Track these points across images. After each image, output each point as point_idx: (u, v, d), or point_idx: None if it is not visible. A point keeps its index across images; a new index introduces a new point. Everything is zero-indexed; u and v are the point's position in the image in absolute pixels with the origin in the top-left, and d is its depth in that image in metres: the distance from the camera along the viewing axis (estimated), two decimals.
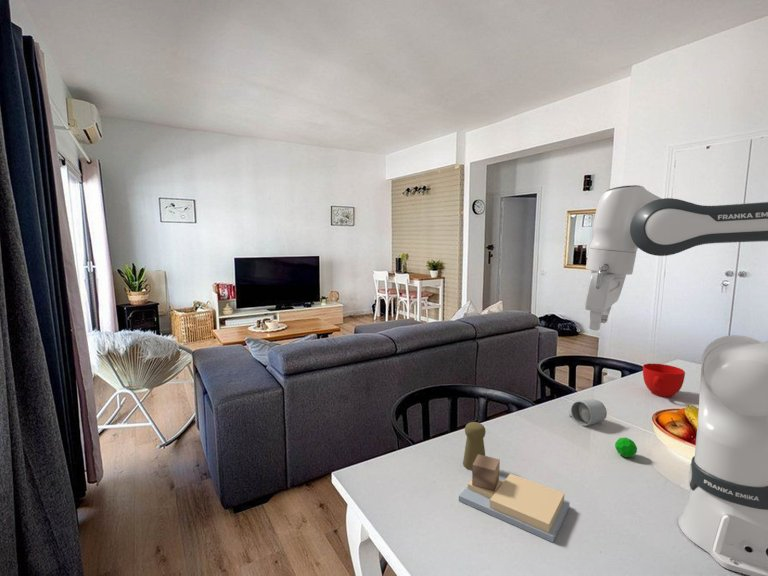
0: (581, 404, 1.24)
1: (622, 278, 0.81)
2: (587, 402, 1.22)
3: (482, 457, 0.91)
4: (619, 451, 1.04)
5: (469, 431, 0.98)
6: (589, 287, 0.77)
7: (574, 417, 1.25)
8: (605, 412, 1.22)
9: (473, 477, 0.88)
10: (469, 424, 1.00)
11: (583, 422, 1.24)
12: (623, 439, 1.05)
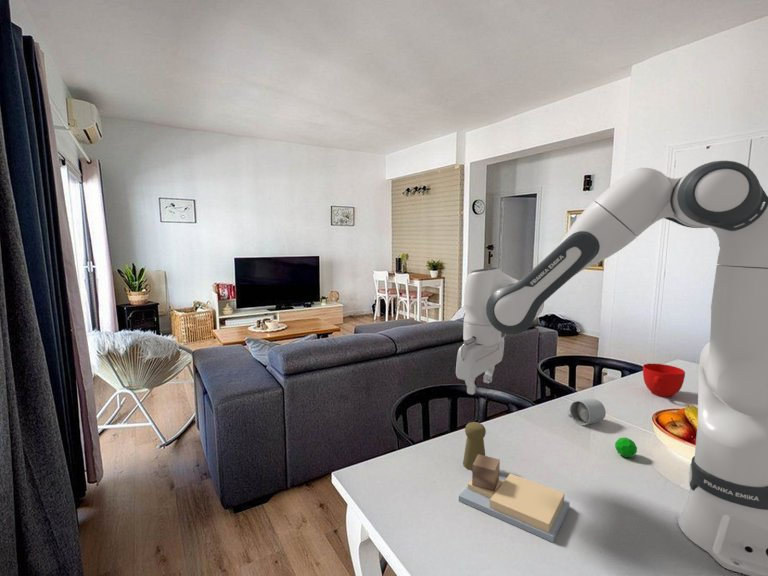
0: (580, 404, 1.24)
1: (490, 346, 0.93)
2: (586, 402, 1.22)
3: (482, 457, 0.91)
4: (619, 451, 1.04)
5: (469, 431, 0.98)
6: (457, 359, 0.89)
7: (573, 417, 1.26)
8: (604, 412, 1.22)
9: (473, 477, 0.88)
10: (469, 424, 1.00)
11: (582, 421, 1.24)
12: (623, 439, 1.05)
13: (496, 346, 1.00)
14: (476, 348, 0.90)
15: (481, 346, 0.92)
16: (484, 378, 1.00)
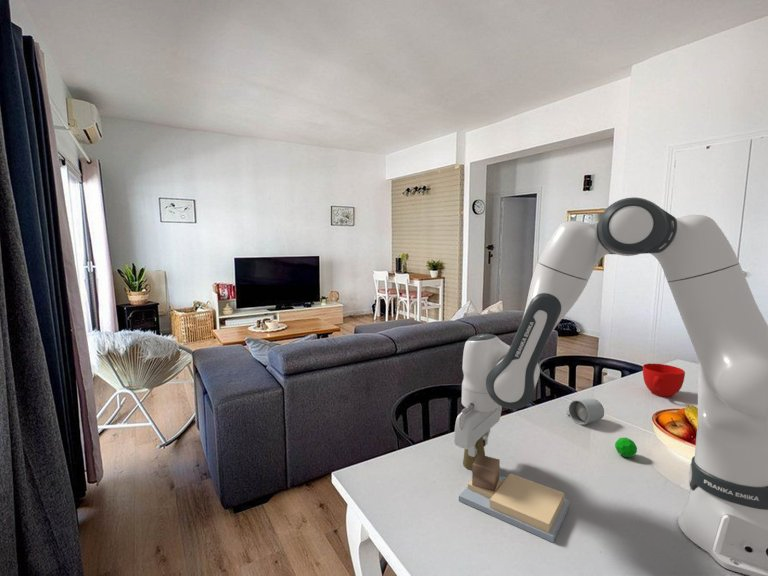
0: (579, 403, 1.25)
1: (488, 412, 0.95)
2: (585, 401, 1.23)
3: (482, 457, 0.91)
4: (619, 451, 1.04)
5: None
6: (455, 427, 0.91)
7: (572, 416, 1.26)
8: (602, 411, 1.23)
9: (473, 477, 0.88)
10: None
11: (581, 421, 1.25)
12: (623, 439, 1.05)
13: None
14: (474, 416, 0.92)
15: (479, 413, 0.94)
16: None
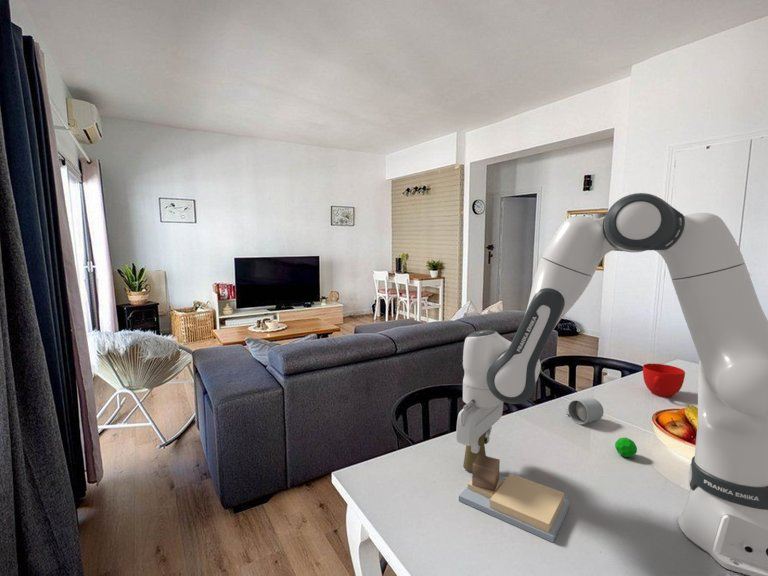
0: (578, 403, 1.25)
1: (490, 408, 0.95)
2: (584, 401, 1.23)
3: (482, 457, 0.91)
4: (619, 451, 1.04)
5: None
6: (457, 424, 0.91)
7: (571, 416, 1.26)
8: (602, 411, 1.23)
9: (473, 477, 0.88)
10: None
11: (580, 421, 1.25)
12: (623, 439, 1.05)
13: (495, 404, 1.01)
14: (475, 413, 0.91)
15: (480, 409, 0.93)
16: None
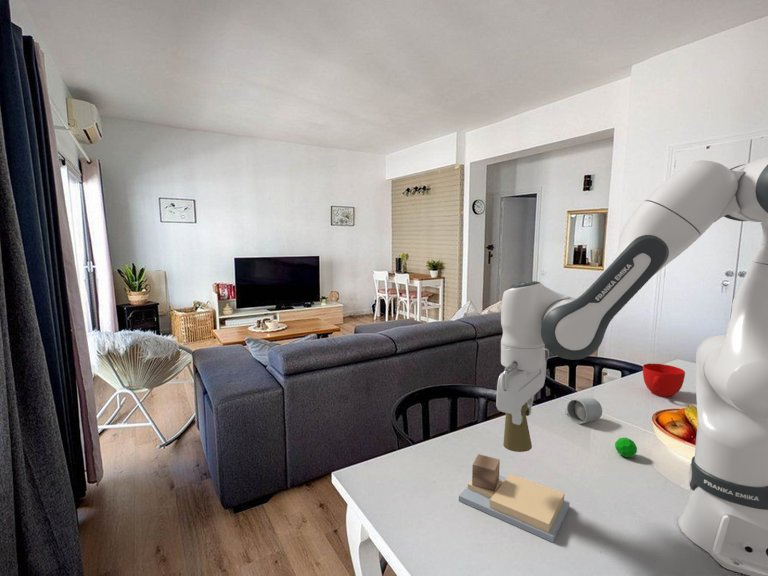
0: (577, 402, 1.25)
1: (534, 372, 0.81)
2: (583, 400, 1.24)
3: (482, 457, 0.91)
4: (619, 451, 1.04)
5: None
6: (497, 389, 0.77)
7: (570, 415, 1.27)
8: (601, 410, 1.24)
9: (473, 477, 0.88)
10: None
11: (579, 420, 1.26)
12: (623, 439, 1.05)
13: (538, 370, 0.88)
14: (519, 375, 0.78)
15: (524, 372, 0.80)
16: None
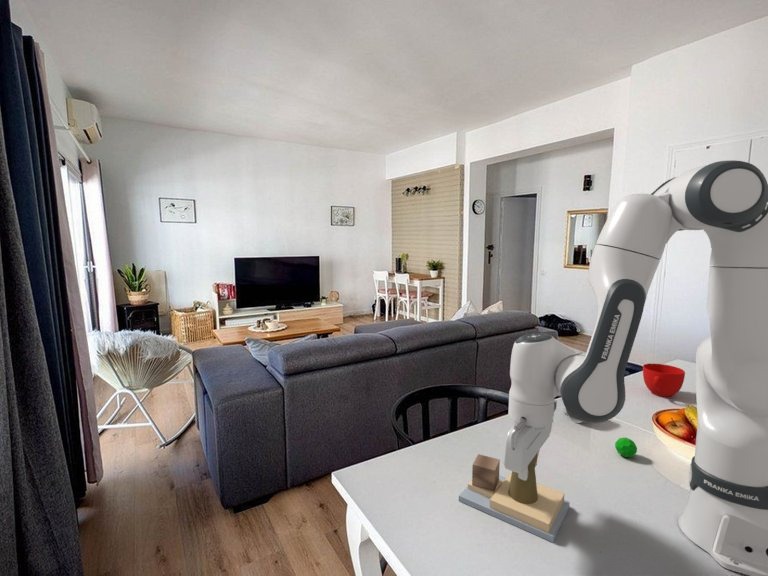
0: None
1: (543, 428, 0.79)
2: None
3: (482, 457, 0.91)
4: (619, 451, 1.04)
5: None
6: (506, 447, 0.75)
7: (568, 414, 1.27)
8: None
9: (473, 477, 0.88)
10: None
11: (577, 419, 1.26)
12: (623, 439, 1.05)
13: None
14: (528, 433, 0.76)
15: (532, 429, 0.78)
16: None
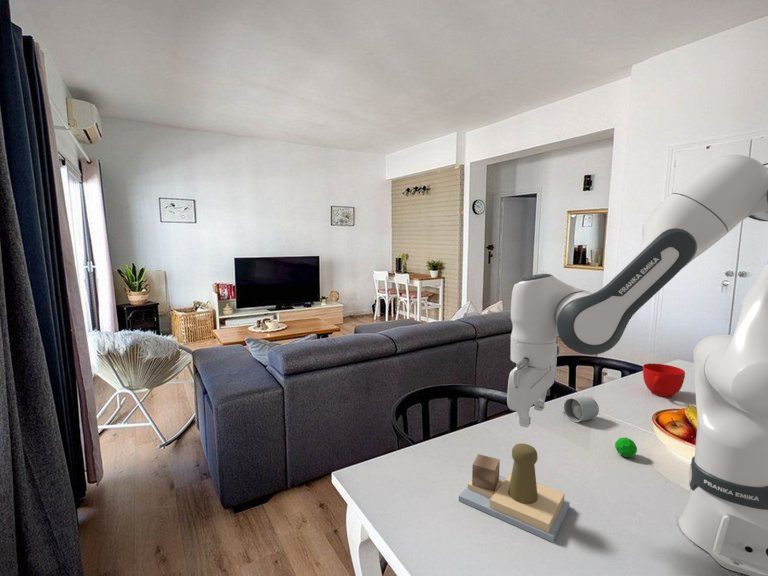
0: (574, 401, 1.27)
1: (546, 369, 0.78)
2: (579, 399, 1.25)
3: (482, 457, 0.91)
4: (619, 451, 1.04)
5: (518, 455, 0.81)
6: (508, 386, 0.74)
7: (567, 414, 1.28)
8: (597, 409, 1.25)
9: (473, 477, 0.88)
10: (517, 446, 0.83)
11: (576, 418, 1.27)
12: (623, 439, 1.05)
13: (548, 366, 0.84)
14: (531, 372, 0.74)
15: (535, 369, 0.76)
16: (535, 405, 0.85)
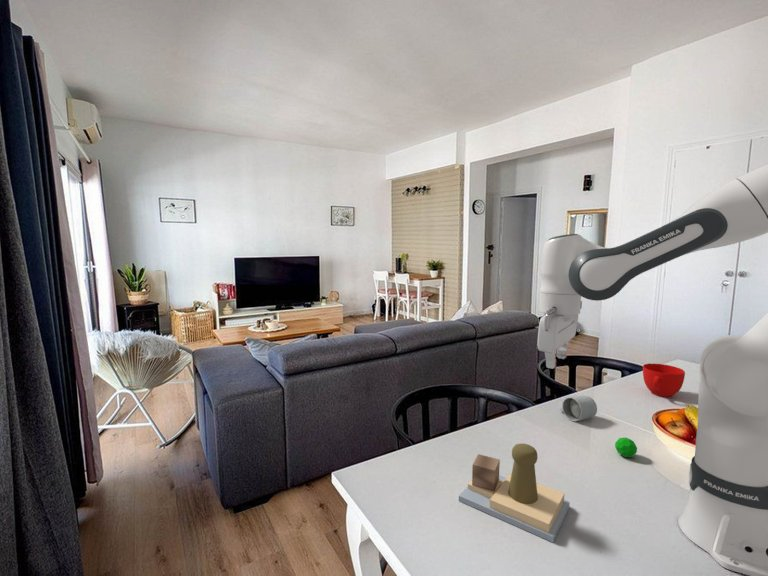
0: (572, 400, 1.27)
1: (571, 318, 0.88)
2: (578, 398, 1.25)
3: (482, 457, 0.91)
4: (619, 451, 1.04)
5: (518, 455, 0.81)
6: (539, 330, 0.84)
7: (565, 413, 1.29)
8: (595, 408, 1.25)
9: (473, 477, 0.88)
10: (517, 446, 0.83)
11: (574, 418, 1.27)
12: (623, 439, 1.05)
13: None
14: (559, 318, 0.84)
15: (562, 317, 0.87)
16: (558, 353, 0.95)
